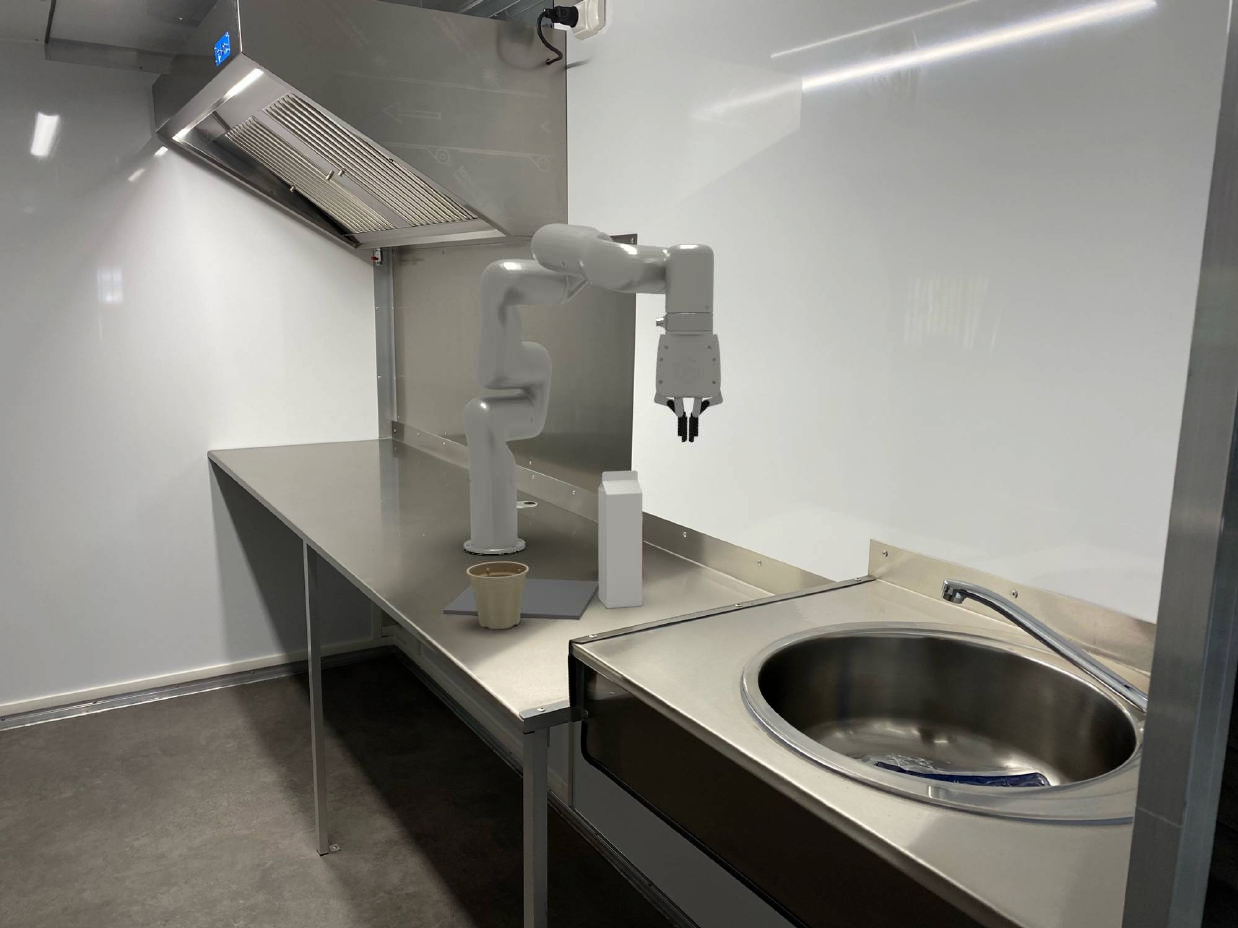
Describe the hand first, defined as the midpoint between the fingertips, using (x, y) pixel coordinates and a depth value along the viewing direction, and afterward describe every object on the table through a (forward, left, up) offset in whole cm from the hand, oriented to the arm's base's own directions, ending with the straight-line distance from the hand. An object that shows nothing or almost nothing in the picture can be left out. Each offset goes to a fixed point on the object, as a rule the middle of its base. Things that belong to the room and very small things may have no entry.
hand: (687, 441), depth 148 cm
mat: (0, -27, -27) cm, 38 cm away
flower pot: (+14, -28, -27) cm, 41 cm away
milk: (0, -11, -27) cm, 29 cm away
